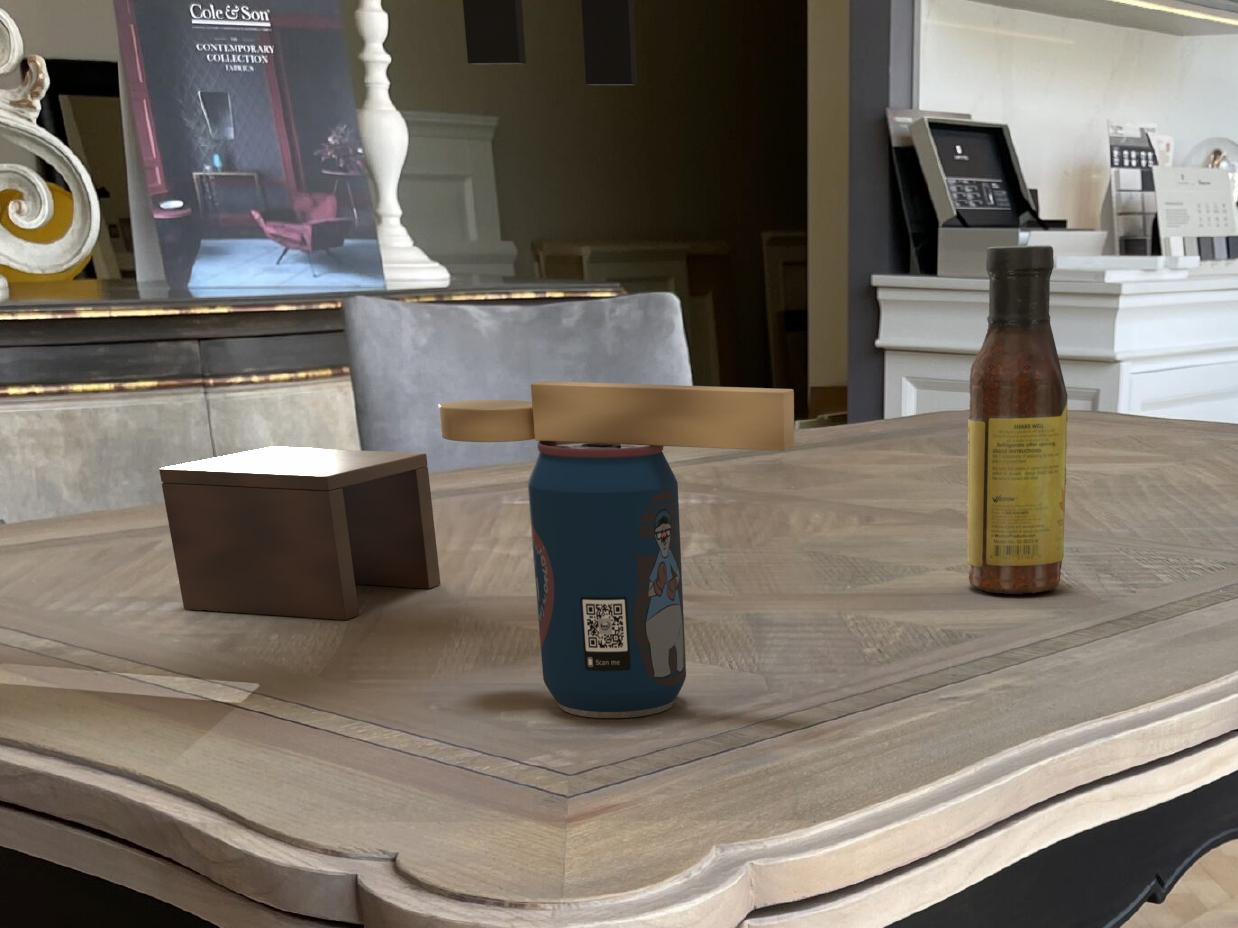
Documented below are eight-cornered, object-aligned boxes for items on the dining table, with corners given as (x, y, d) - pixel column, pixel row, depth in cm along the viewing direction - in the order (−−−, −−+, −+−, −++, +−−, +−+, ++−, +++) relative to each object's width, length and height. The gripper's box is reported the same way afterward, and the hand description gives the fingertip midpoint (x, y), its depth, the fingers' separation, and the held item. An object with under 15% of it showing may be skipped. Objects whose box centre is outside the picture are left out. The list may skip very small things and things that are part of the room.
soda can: (554, 687, 86) (534, 433, 81) (690, 687, 87) (680, 433, 81) (536, 722, 80) (513, 449, 75) (683, 721, 81) (671, 450, 75)
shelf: (183, 609, 103) (158, 468, 99) (291, 575, 113) (272, 446, 109) (345, 620, 100) (326, 476, 97) (441, 584, 111) (426, 452, 107)
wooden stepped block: (423, 440, 77) (417, 382, 76) (469, 430, 81) (464, 375, 80) (773, 454, 74) (772, 394, 73) (804, 443, 78) (803, 386, 76)
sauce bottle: (1080, 589, 111) (1103, 245, 101) (1017, 601, 107) (1035, 245, 98) (1005, 575, 115) (1020, 244, 106) (942, 587, 111) (951, 244, 102)
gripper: (467, -602, 65) (514, 52, 76) (700, -399, 86) (712, 91, 97) (296, -583, 67) (365, 53, 77) (565, -388, 88) (591, 92, 98)
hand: (558, 75), depth 87 cm, fingers open, 13 cm apart
